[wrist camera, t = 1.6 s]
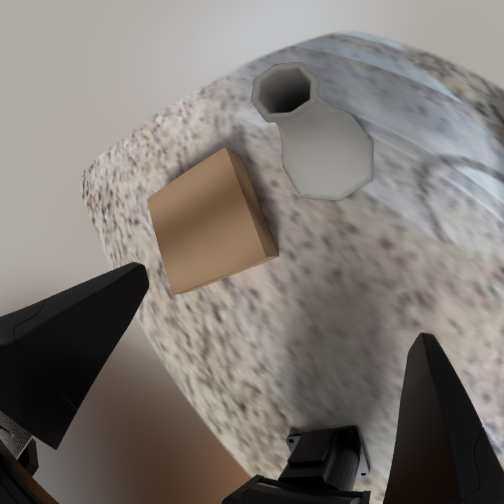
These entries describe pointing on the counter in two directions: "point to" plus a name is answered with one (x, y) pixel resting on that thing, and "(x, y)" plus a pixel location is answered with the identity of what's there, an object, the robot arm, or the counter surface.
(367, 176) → the flask
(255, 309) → the counter surface
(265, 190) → the counter surface
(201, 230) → the square wooden block
